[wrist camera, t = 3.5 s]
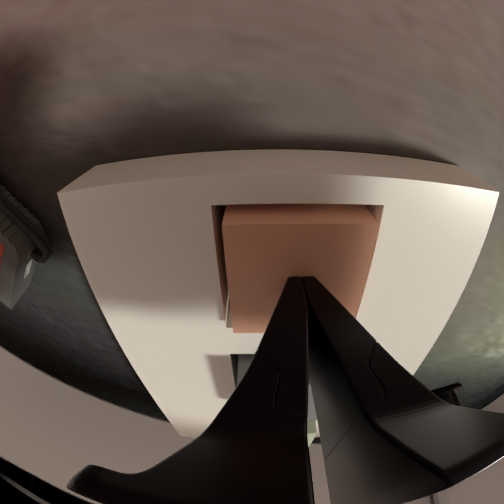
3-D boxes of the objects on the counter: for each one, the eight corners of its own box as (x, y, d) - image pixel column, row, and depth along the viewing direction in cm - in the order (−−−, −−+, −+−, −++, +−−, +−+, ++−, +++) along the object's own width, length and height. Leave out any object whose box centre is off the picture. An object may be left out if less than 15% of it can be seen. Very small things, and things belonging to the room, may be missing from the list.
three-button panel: (458, 165, 10) (499, 192, 7) (362, 401, 21) (368, 429, 19) (96, 165, 10) (56, 193, 8) (185, 406, 22) (180, 435, 19)
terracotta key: (346, 182, 10) (378, 224, 8) (333, 272, 13) (351, 328, 10) (231, 182, 11) (221, 224, 8) (237, 275, 13) (233, 332, 10)
